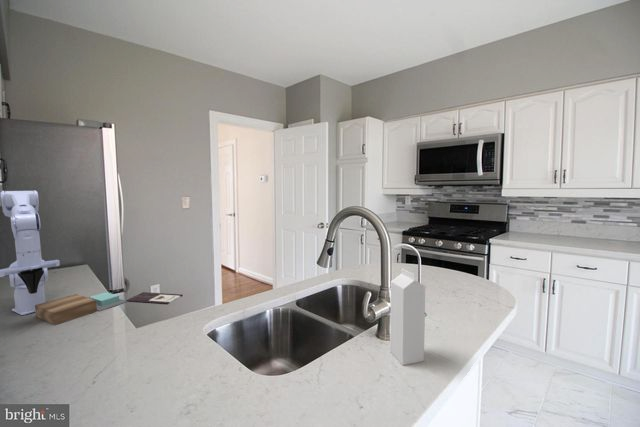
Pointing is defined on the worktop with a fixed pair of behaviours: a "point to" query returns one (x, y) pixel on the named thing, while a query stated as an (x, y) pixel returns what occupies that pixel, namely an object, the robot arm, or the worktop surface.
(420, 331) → the milk
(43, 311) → the brown flat block
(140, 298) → the chocolate bar
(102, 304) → the teal rectangular block
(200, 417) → the worktop surface
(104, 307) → the mat
